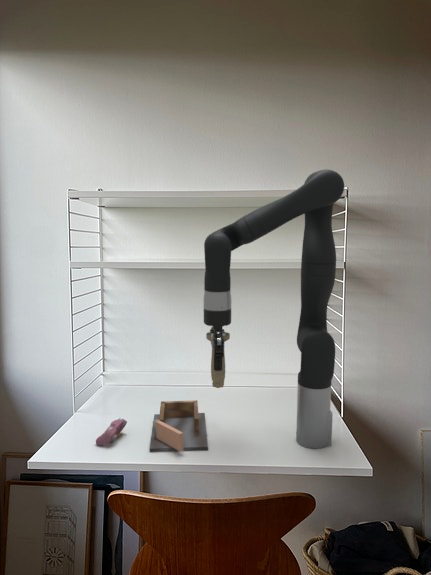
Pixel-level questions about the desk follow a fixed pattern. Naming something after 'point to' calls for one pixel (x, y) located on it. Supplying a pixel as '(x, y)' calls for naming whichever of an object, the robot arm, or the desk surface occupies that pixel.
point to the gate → (168, 435)
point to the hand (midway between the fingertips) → (217, 367)
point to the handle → (220, 375)
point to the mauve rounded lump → (111, 432)
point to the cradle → (182, 425)
